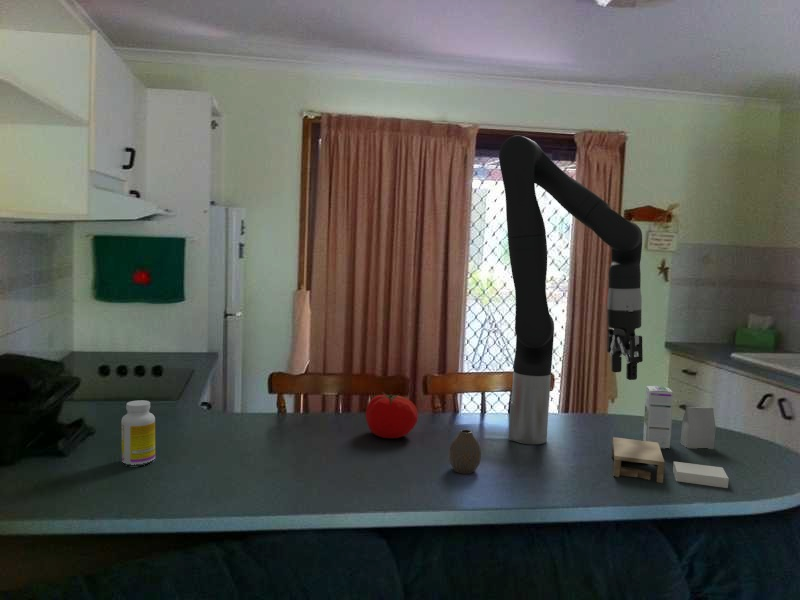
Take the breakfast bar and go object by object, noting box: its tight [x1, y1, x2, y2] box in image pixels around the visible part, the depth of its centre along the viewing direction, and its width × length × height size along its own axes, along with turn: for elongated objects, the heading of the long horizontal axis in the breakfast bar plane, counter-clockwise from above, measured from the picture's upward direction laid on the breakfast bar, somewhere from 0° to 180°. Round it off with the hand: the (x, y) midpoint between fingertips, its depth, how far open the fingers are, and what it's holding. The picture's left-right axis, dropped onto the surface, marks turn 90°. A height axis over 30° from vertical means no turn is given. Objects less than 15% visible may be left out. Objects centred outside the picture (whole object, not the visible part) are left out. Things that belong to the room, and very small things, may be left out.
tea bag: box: [679, 406, 717, 450], centre depth 163 cm, size 4×7×10 cm, turn 91°
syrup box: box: [642, 385, 674, 449], centre depth 162 cm, size 6×6×14 cm
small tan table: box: [611, 436, 665, 484], centre depth 144 cm, size 10×14×5 cm
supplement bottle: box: [120, 399, 156, 465], centre depth 136 cm, size 7×7×13 cm
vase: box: [448, 429, 482, 475], centre depth 139 cm, size 7×7×9 cm
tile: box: [672, 461, 730, 489], centre depth 140 cm, size 10×7×2 cm
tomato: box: [365, 391, 419, 439], centre depth 161 cm, size 13×12×11 cm
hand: (623, 375), depth 152 cm, fingers open, 8 cm apart
